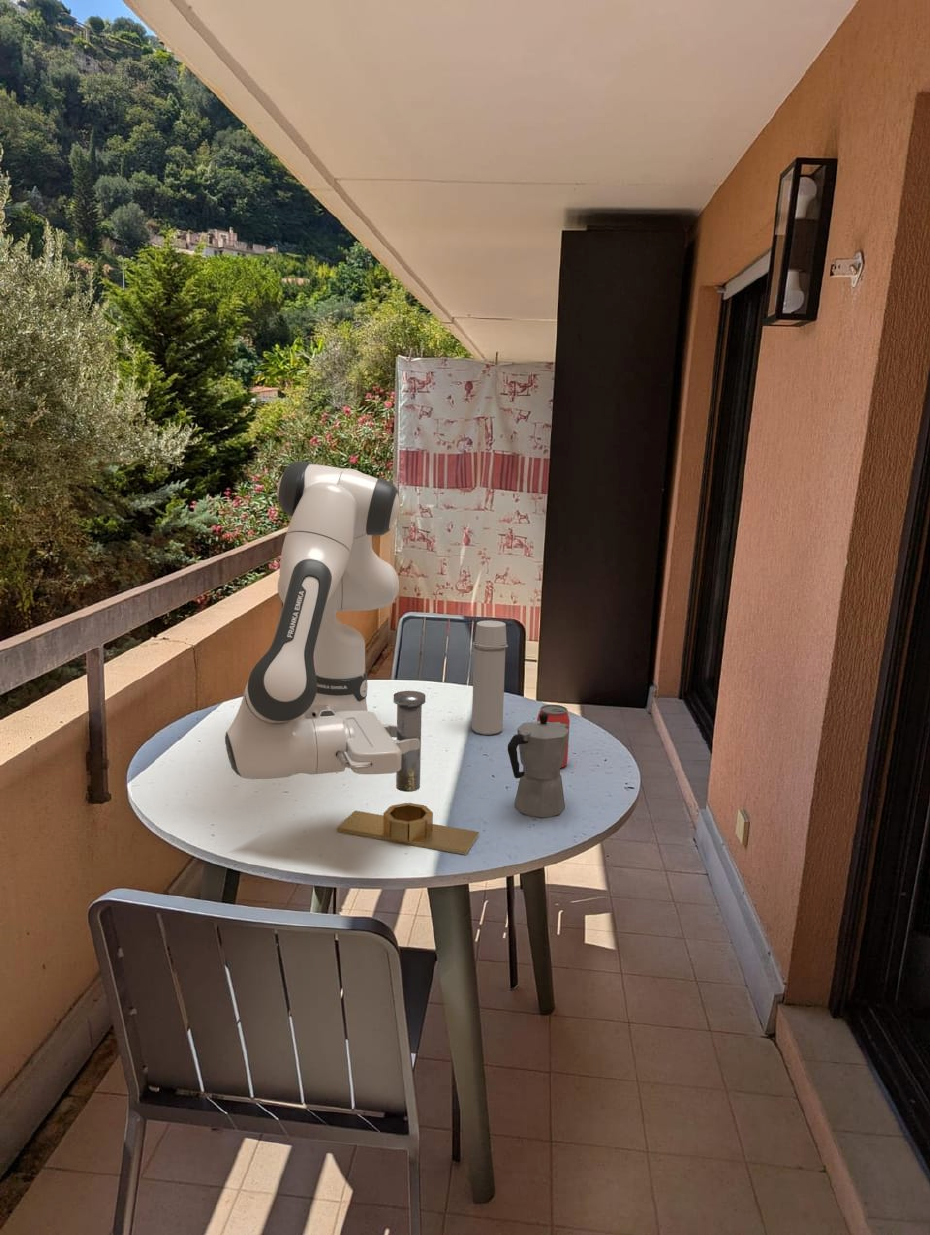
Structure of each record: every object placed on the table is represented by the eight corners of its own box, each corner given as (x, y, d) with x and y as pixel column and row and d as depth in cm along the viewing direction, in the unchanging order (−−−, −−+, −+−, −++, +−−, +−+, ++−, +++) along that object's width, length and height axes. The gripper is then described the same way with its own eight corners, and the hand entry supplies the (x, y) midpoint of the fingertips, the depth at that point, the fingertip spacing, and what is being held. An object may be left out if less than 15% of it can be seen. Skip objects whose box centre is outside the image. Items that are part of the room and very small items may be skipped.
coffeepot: (544, 789, 166) (548, 700, 163) (582, 805, 160) (588, 712, 156) (487, 812, 156) (490, 717, 152) (525, 830, 149) (530, 731, 146)
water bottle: (498, 738, 193) (502, 629, 187) (465, 733, 195) (468, 625, 190) (510, 725, 201) (514, 620, 196) (478, 720, 204) (482, 617, 198)
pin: (387, 790, 144) (388, 698, 140) (399, 778, 148) (400, 689, 145) (417, 795, 142) (418, 702, 139) (428, 783, 147) (430, 693, 143)
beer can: (565, 771, 175) (568, 715, 173) (533, 768, 176) (535, 712, 174) (568, 759, 182) (571, 705, 179) (537, 756, 183) (539, 702, 180)
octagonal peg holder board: (336, 832, 147) (336, 811, 146) (355, 813, 154) (355, 793, 153) (465, 856, 140) (465, 834, 139) (479, 835, 147) (480, 814, 146)
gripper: (343, 749, 129) (432, 740, 133) (320, 706, 148) (398, 700, 152) (343, 788, 130) (432, 779, 135) (320, 741, 149) (398, 734, 154)
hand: (414, 737), depth 144 cm, fingers closed on pin, 4 cm apart
